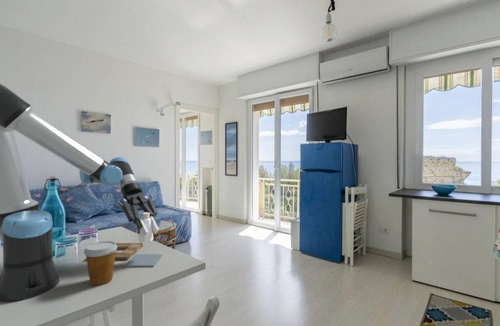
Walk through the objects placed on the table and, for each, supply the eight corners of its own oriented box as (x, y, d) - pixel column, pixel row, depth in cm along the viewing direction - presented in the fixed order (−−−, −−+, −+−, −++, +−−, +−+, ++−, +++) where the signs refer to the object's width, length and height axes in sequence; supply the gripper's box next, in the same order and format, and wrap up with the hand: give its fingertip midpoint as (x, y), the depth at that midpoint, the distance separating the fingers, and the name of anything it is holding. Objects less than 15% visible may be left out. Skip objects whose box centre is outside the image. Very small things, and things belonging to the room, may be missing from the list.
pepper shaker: (144, 243, 97) (144, 215, 97) (135, 240, 100) (135, 213, 100) (156, 239, 102) (156, 212, 101) (148, 237, 104) (147, 210, 104)
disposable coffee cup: (103, 272, 90) (103, 239, 90) (124, 277, 87) (123, 242, 87) (77, 285, 81) (76, 248, 81) (99, 290, 78) (98, 252, 78)
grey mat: (153, 266, 95) (153, 265, 95) (123, 267, 94) (123, 265, 94) (162, 255, 106) (162, 254, 106) (135, 255, 105) (135, 254, 105)
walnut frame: (127, 260, 101) (127, 256, 101) (86, 260, 100) (86, 256, 100) (142, 246, 117) (142, 242, 117) (107, 246, 116) (107, 243, 116)
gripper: (145, 190, 116) (166, 233, 107) (106, 195, 103) (126, 244, 93) (151, 180, 113) (174, 222, 103) (111, 183, 99) (133, 232, 90)
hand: (151, 232), depth 98 cm, fingers closed on pepper shaker, 4 cm apart
